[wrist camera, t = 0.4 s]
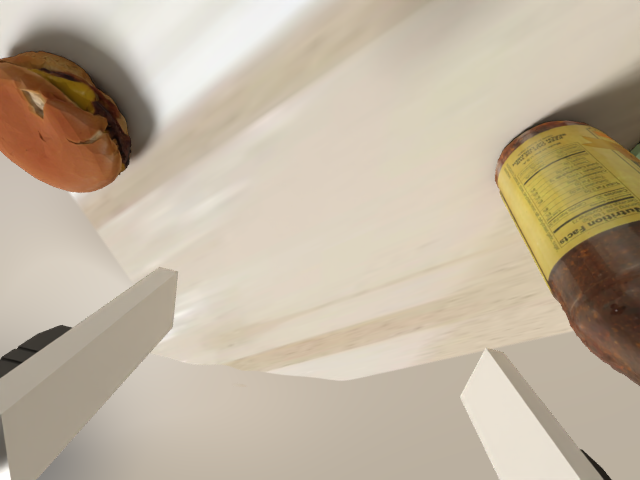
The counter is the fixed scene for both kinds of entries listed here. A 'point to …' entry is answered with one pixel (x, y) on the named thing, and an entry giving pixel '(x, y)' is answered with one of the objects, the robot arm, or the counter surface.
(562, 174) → the sauce bottle
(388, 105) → the counter surface
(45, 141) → the burger
